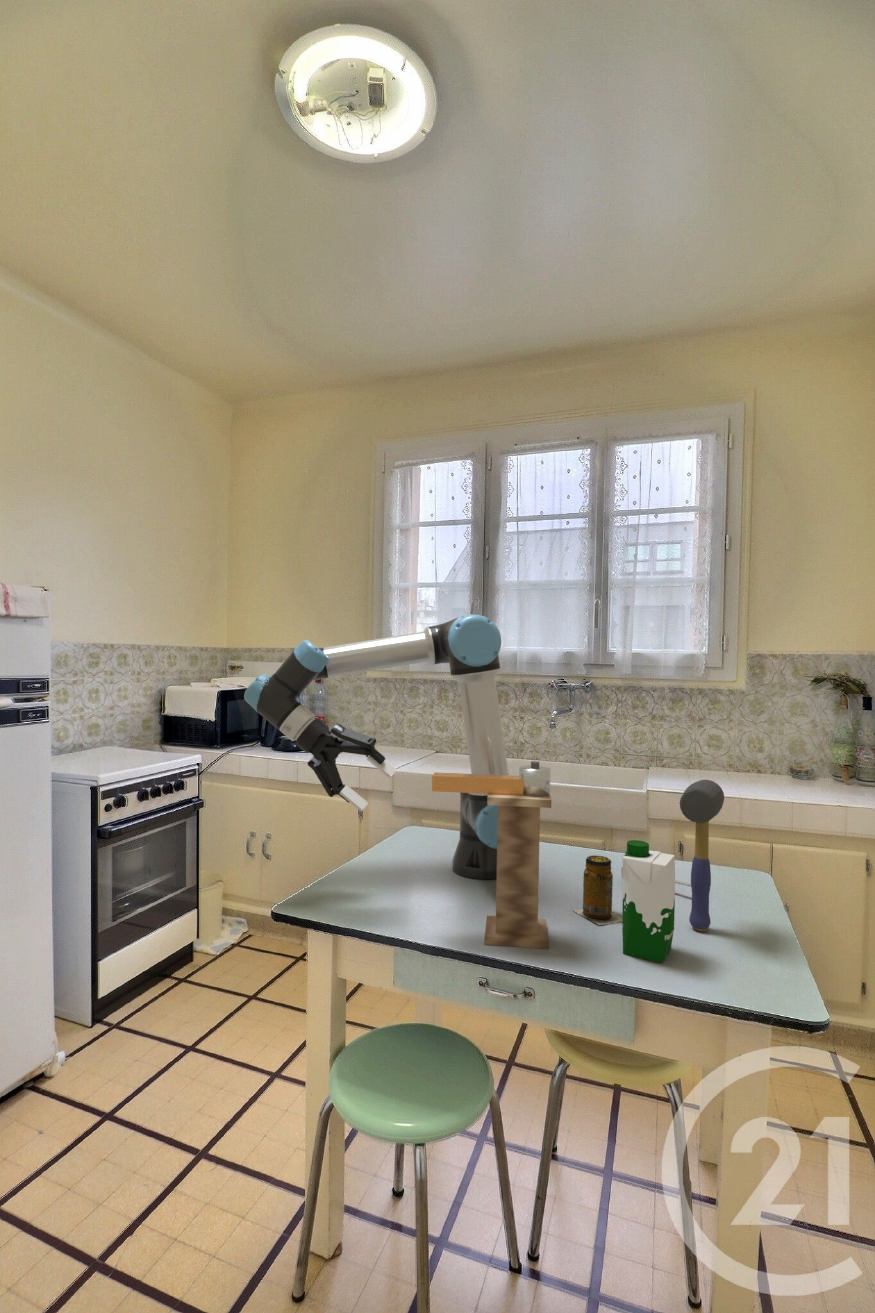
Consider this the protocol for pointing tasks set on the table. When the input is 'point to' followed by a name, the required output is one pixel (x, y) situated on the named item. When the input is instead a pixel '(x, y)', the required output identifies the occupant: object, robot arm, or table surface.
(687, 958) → the table surface
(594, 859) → the condiment
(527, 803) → the walnut stand
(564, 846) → the table surface
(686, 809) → the rubber mallet
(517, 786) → the wooden handle
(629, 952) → the milk carton
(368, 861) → the table surface
